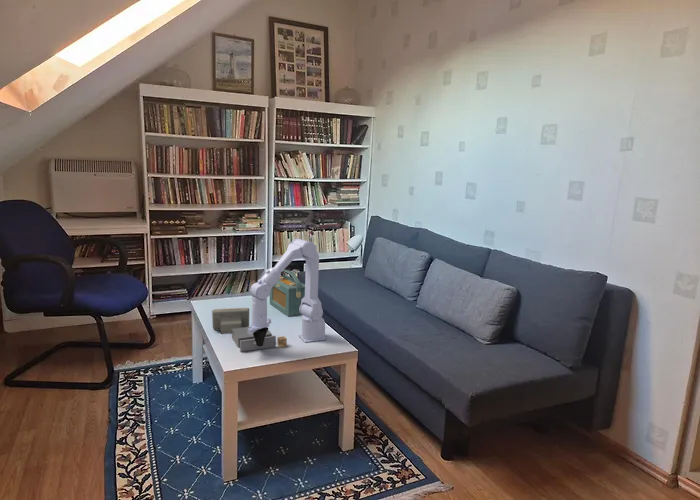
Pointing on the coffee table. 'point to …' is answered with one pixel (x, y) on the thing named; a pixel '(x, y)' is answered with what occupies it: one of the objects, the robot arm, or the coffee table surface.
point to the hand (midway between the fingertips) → (259, 345)
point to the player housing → (243, 334)
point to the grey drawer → (251, 345)
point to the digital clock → (230, 319)
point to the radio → (287, 294)
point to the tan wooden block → (282, 341)
